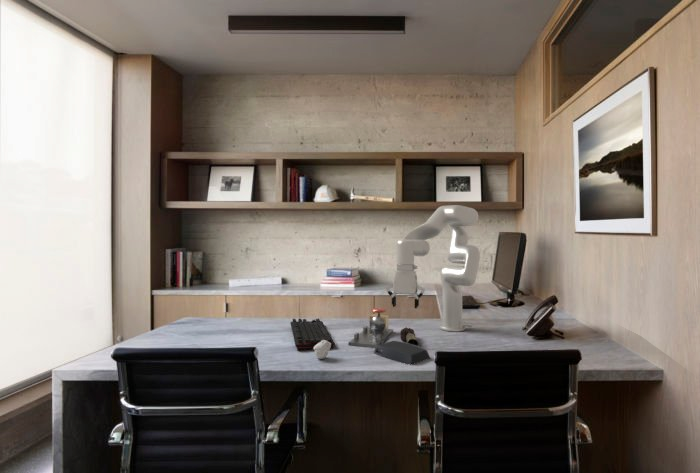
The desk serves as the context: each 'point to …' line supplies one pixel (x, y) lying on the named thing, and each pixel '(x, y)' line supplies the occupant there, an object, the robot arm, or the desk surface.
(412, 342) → the morel mushroom
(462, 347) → the desk surface
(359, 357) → the desk surface
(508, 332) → the desk surface
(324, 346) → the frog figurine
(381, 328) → the stand
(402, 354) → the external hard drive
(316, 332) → the keyboard
